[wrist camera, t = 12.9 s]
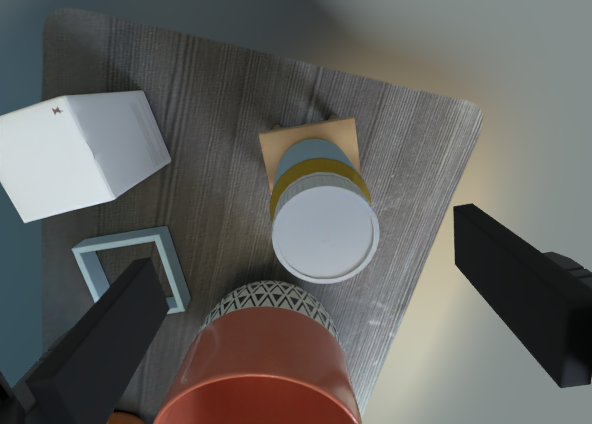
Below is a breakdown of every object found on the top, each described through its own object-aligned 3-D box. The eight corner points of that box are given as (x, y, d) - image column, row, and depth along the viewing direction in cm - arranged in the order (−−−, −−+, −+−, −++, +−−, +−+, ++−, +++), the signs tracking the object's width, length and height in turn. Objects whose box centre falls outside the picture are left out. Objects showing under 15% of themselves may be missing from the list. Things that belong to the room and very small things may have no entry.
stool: (266, 123, 42) (258, 134, 33) (341, 109, 42) (354, 117, 32) (280, 193, 45) (276, 222, 36) (350, 182, 45) (364, 208, 35)
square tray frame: (84, 238, 47) (71, 248, 45) (167, 225, 47) (159, 234, 44) (114, 310, 51) (103, 323, 48) (191, 298, 51) (184, 311, 48)
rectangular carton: (74, 109, 42) (-40, 123, 28) (144, 88, 41) (63, 91, 27) (107, 181, 45) (20, 226, 31) (173, 163, 44) (115, 200, 30)
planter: (192, 260, 48) (118, 386, 28) (333, 244, 48) (359, 362, 27) (221, 370, 55) (177, 535, 35) (344, 357, 54) (373, 519, 34)
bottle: (352, 203, 35) (389, 284, 21) (282, 211, 35) (272, 296, 21) (347, 132, 33) (385, 170, 19) (272, 141, 33) (254, 185, 19)
